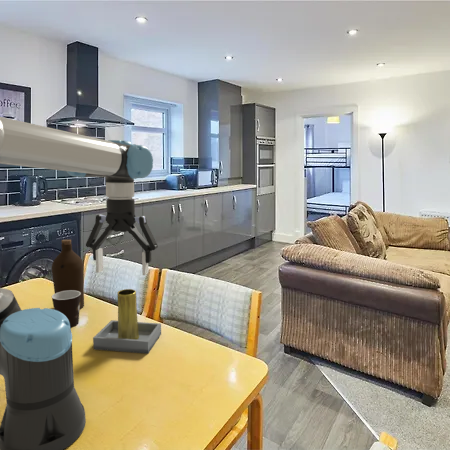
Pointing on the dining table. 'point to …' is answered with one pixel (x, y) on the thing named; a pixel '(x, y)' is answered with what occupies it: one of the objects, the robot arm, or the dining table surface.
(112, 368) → the dining table surface
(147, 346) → the tray
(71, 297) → the coffee mug
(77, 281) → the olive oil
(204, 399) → the dining table surface
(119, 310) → the vase
